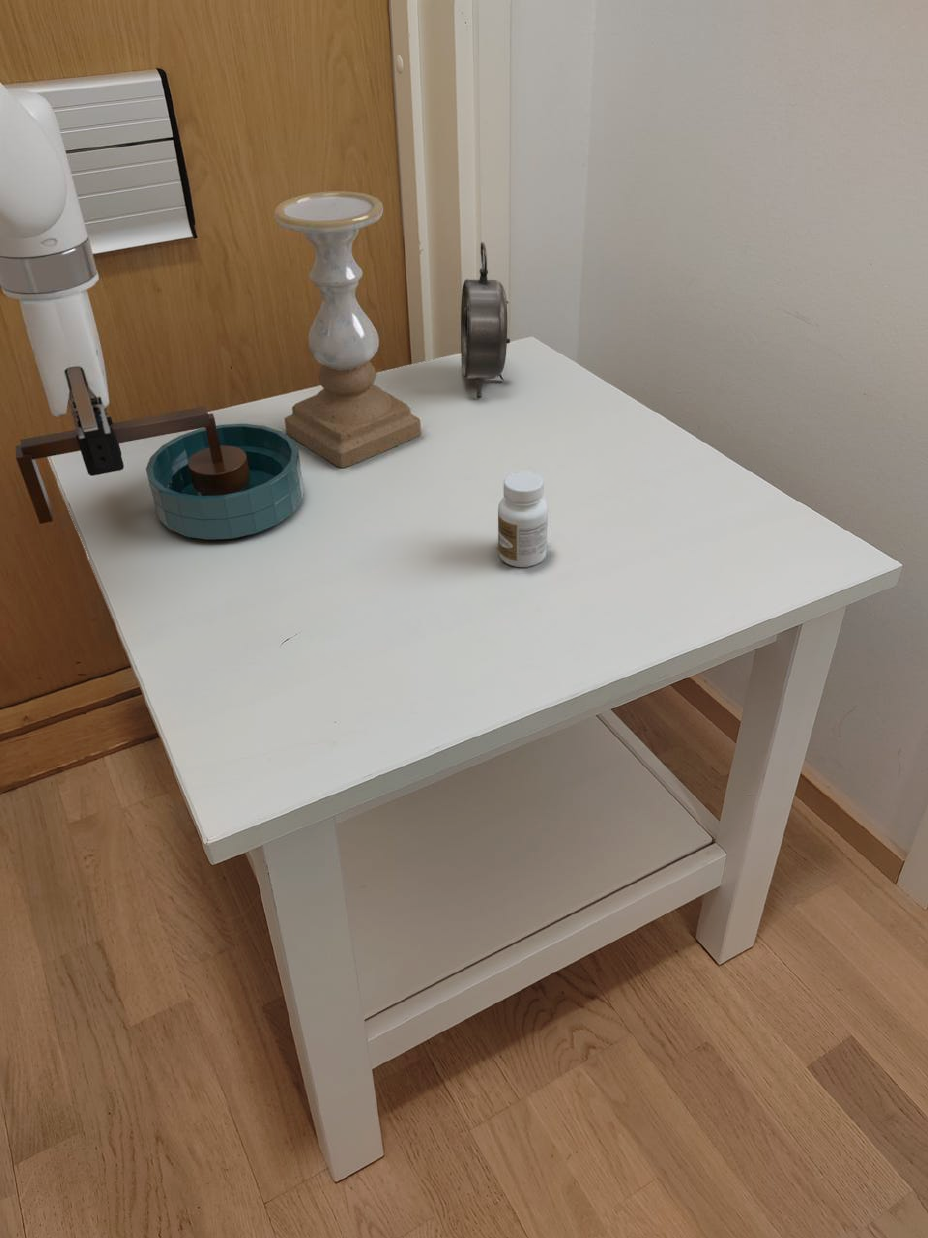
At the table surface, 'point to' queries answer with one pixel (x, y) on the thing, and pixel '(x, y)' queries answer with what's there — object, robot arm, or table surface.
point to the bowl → (238, 512)
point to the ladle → (208, 467)
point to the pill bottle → (522, 520)
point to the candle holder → (342, 338)
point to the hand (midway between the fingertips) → (105, 464)
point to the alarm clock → (483, 327)
